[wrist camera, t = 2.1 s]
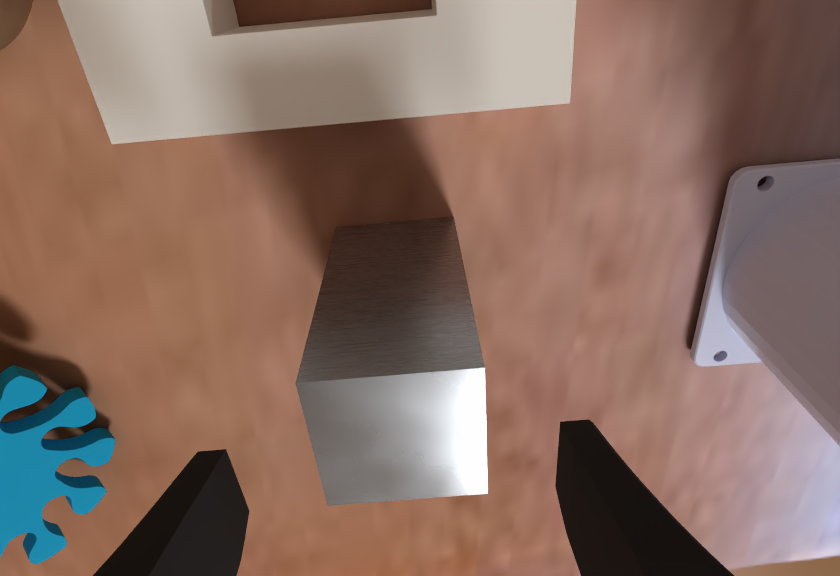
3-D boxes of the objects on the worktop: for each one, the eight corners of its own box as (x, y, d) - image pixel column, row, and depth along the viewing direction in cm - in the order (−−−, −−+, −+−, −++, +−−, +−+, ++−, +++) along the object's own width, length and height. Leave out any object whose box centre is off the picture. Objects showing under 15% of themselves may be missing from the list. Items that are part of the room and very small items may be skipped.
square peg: (453, 217, 18) (484, 367, 11) (458, 315, 20) (488, 493, 13) (336, 227, 18) (295, 383, 11) (353, 323, 20) (327, 505, 13)
